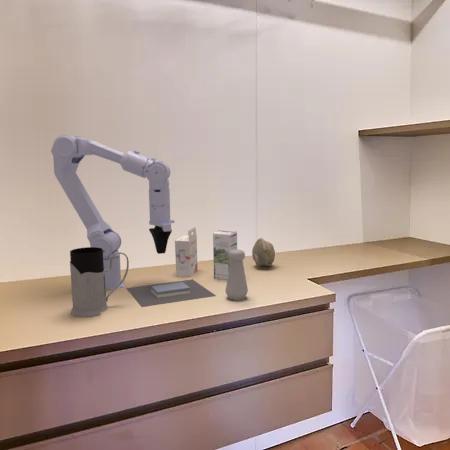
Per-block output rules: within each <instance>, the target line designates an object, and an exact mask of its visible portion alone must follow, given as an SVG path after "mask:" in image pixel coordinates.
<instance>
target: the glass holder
mask: <svg viewBox="0 0 450 450" xmlns="http://www.w3.org/2000/svg"><path fill="white" fill-rule="evenodd" d="M117 254H120V255H122V256H125V258H126V269H125V273H124V275H123V277H122V278H121V282H120V283H119V284H118V285H117V286H116V287H115V288H114V289H111V291H110V292H108V294H107V290H106V286H105V271H109V270H111V268H112V260H113V258H114V256H115V255H117ZM69 257H70V260H69V267H70V282H71V283H70V284H71V300H72V309H71V311H70V313H71V315H72V316H74V317H78V318H90V317H91V318H93V317H97V316H100V315H101V314H102V313H104V312H106V311H108V309H109V306H108V304H107V303H108V299H109V297H110V296H111V295H112V294H113V293H114V292H115V291H116V290H117V289H119V288H118V287H119V286H120V285H121V284H122V283H123V284H124V281H125V280H126V278H127V275H128V272H129V266H130V265H129V262H130V261H129V257H128V256H127V254H125V252H121V251H120V252H119V251H118V252H117V253H115V254H114V255H113V256H112V257H111V260H110V268H109V269H107V270H104V262H103V249H102V248H97V247H89V246H88V247H87V246H86V247H79V248H73V249H72V250H69Z"/></svg>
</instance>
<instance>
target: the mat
mask: <svg viewBox="0 0 450 450" xmlns="http://www.w3.org/2000/svg"><path fill="white" fill-rule="evenodd" d="M180 282H183V283H184V284H186V285H187V286H188V287H190V293H189V294H182V295H175V296H168V297H161V298H157V297H156V296H155V295H154V294H153V293H152V291H151V286H157V285H165V284H172V283H180ZM125 288H126V290H127V291H128V292H129V293H130V295H131V296H132V297H133V298H134V300H135V301H136V302H137V303H138V304H139V306H140V307H141V308H143V307H144V308H145V307H151V306H157V305H158V306H159V305H165V304H166V305H167V304H171V303H179V302H184V301H185V302H186V301H192V300H199V299H205V298H212V297H217V295H216V294H214V293H213V292H212V291H210V290H208V289H207V288H206V287H205V286H203V285H202V284H200V283H199V282H197V281H196V280H194V279H193V278H192V279H184V280H177V281H170V282H164V283H163V282H161V283H156V284H147V285H138V286H133V287H131V286H130V287H125Z"/></svg>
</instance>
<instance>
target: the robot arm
mask: <svg viewBox="0 0 450 450" xmlns="http://www.w3.org/2000/svg"><path fill="white" fill-rule="evenodd" d="M50 153H51V155H52V156H53V157H52V159H53V173H54V176H55V178H56V180H57V181H58V183H59V184H60V185H59V186H61V188H62V190H63V191H64V193H65V195H66V196H67V198H68V200H69V202H70V203H71V205H72V207H73V209H74V210H75V212H76V213H77V215H78V217H79V219H80V220H81V222H82V223H83V225H84V227H85V229H86V237H87V240H88V242H89V245H90V247H97V248H102V249H103V262H104V270H107V269H109V268H110V260H111V257H112V256H113V255H114V254H115V253H117V252H119V249H120V248H121V245H122V238H121V236H120V235H119V233H118V232H116V231H115V230H113V228H112V226H111V225H110V224H109V223H107V222H106V221H105V220H104V219H103V217H102V215H101V213H100V212H99V210H98V209H97V206H96V205H95V203H94V201H93V200H92V198H91V196H90V195H89V193H88V191H87V189H86V188H85V186H84V184H83V182H82V180H81V179H80V177H79V175H78V173H77V170H78V167H79V164H80V162H81V161H82V160H83V159H84V158H85V156H97V157H99V158H102V159H105V160H109V161H111V162H114V163H116V164H119V165H120V166H121V168H122V170H123V171H125V172H127V173H129V174H133V175H136V176H138V177H141V178H143V179H147V181H148V186H149V187H148V203H149V204H148V205H149V208H148V209H149V210H148V211H149V220H148V224H149V225H150V226H154V227H152V228H148V229H149V230H148V231H149V233H150V234H151V237H152V239H153V243H154V246H155V247H154V248H155V250H156V253H157V254H159V255H160V254H166V252H167V246H168V241H169V238H170V236H171V235H172V232H173V230H172V224H174V223H175V220H174V219H171V197H170V195H171V194H170V192H171V191H170V190H171V189H170V180H169V178H170V176H171V169H170V167H169V165H168V164H166V163H165V162H163V160H162V161H161V160H159V161H156V160H157V159H156V158H155V157H148V156H146V155H143V154H141V153H140V151H138V150H136V149H135V150H129V151H126V152H122V151H120V150H118V149H115V148H113V147H111V146H108V145H105V144H103V143H101V142H99V141H96V140H93V139H89V138H83V137H81V136H72V135H68V134H61V135H59V136H57V137H56V138H55V139H54V141H53V144H52V146H51V149H50ZM121 270H122V269H121V254H117V255H115V256H114V258H113V260H112V268H111V270H109V271H105V286H106V291H107V290H113V289H114V288H115V287H116V286H117V285H118V284H119V283H120V282H121V281H122V275H121V273H122V272H121ZM122 288H126V286H125V285H124V282H123V283H122V284H121V285H120V286H119V287H118V288H117V289H122Z"/></svg>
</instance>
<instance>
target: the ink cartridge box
mask: <svg viewBox="0 0 450 450" xmlns="http://www.w3.org/2000/svg"><path fill="white" fill-rule="evenodd" d="M174 253H175V272H176V273H175V275H176V277H189V278H190V277H192V276H193V275H194V274H195V273H196V272H197V271H198V236H197V228H196V226H195V227H193V228H191V229H189V230H187V235H182V236H181V237H179V238H177V239H175V240H174Z"/></svg>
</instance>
